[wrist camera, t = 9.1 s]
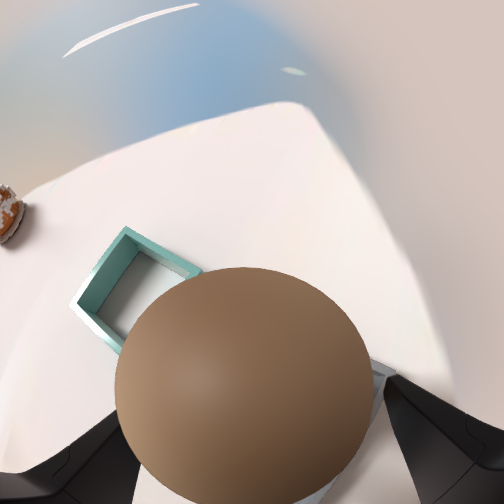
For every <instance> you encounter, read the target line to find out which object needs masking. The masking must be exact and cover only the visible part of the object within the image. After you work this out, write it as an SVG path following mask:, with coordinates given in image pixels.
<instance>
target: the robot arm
mask: <svg viewBox="0 0 504 504" xmlns="http://www.w3.org/2000/svg"><path fill="white" fill-rule="evenodd" d="M383 397H384V400H385V404H386V407H387V411H388V414H389V418H390V421H391V425H392V428H393V431H394V434H395V436H396V438H397V441H398V443H399V446H400V448H401V451H402V453H403V456H404V458H405V461H406V463H407V466H408V469H409V471H410V474H411V477H412V479H413V482H414V485H415V488H416V490H417V493H418V496H419V499H420V502H421V504H504V430H501V429H499V428H496V427H493V426H491V425H489V424H486V423H484V422H482V421H479V420H478V419H476V418H474V417H472V416H470V415H469V414H466V413H465V412H463V411H461V410H459V409H458V408H456V407H454V406H452V405H451V404H449V403H447V402H445V401H444V400H442V399H440V398H438V397H437V396H435V395H433V394H431V393H430V392H428V391H426V390H424V389H423V388H421V387H419V386H418V385H416V384H414V383H413V382H411V381H409V380H407V379H406V378H404V377H402V376H401V375H399V374H394V375H391V376H388V377H387V379H386V382H385V387H384V391H383ZM140 465H141V462H140V461H139V460H138V458H137V457H136V455H135V454H134V452H133V451H132V449H131V448H130V446H129V444H128V442H127V440H126V438H125V436H124V434H123V431H122V428H121V425H120V422H119V419H118V414H117V409H116V410H115V411H113V412H112V413H111V414H110V415H108V416H107V417H106V418H104V419H103V420H102V421H101V422H99V423H98V424H97V425H95V426H94V427H93V428H91V429H90V430H89V431H87V432H86V433H85V434H83V435H82V436H81V437H79V438H78V439H77V440H75V441H74V442H73V443H71V444H70V446H67V447H66V448H64V449H63V450H62V451H60V452H59V453H57V454H56V455H54V456H53V457H51V458H49V459H48V460H46V461H44V462H42V463H41V464H39V465H37V466H35V467H33V468H31V469H29V470H28V471H25V472H22V473H4V472H0V504H132V500H133V496H134V491H135V487H136V482H137V478H138V474H139V470H140Z"/></svg>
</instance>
